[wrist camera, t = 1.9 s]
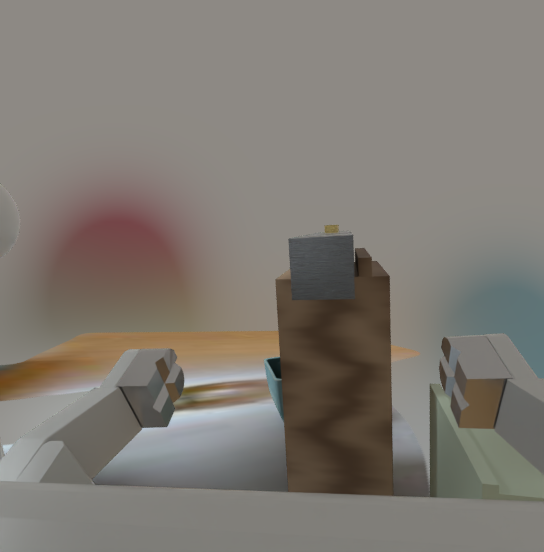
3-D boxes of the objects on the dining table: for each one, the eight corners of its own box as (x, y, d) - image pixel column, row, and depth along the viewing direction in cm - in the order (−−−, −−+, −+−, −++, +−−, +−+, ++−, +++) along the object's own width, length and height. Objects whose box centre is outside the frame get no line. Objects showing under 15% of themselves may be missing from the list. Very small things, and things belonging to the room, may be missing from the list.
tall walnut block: (292, 556, 32) (274, 261, 28) (307, 468, 43) (295, 251, 40) (394, 571, 30) (389, 256, 26) (381, 475, 41) (376, 247, 38)
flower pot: (335, 427, 52) (332, 371, 51) (278, 438, 50) (274, 379, 49) (315, 400, 60) (312, 351, 59) (266, 408, 59) (263, 358, 57)
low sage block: (477, 730, 20) (482, 483, 18) (430, 546, 32) (429, 383, 30) (641, 768, 18) (667, 500, 16) (528, 559, 30) (534, 387, 28)
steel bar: (354, 299, 19) (352, 221, 18) (292, 300, 20) (288, 226, 19) (351, 262, 38) (349, 224, 38) (319, 263, 39) (317, 226, 38)
